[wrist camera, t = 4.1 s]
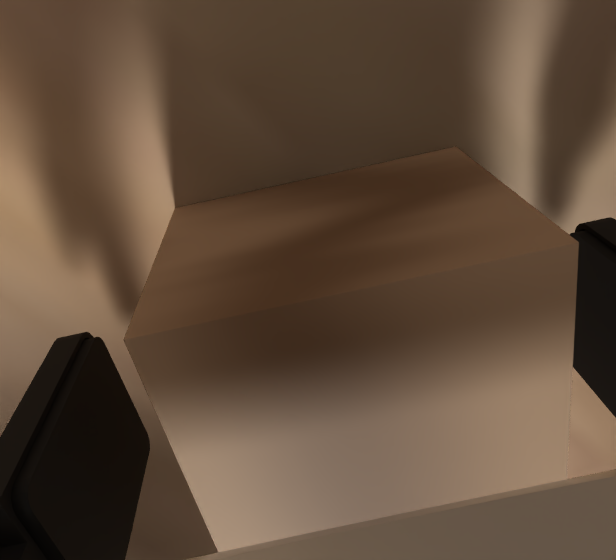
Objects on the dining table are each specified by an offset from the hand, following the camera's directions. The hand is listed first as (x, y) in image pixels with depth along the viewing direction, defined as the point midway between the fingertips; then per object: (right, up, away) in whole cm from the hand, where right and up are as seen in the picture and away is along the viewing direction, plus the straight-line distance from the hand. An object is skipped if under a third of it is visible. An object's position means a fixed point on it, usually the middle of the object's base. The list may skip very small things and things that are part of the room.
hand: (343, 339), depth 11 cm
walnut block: (0, +1, +2) cm, 2 cm away
